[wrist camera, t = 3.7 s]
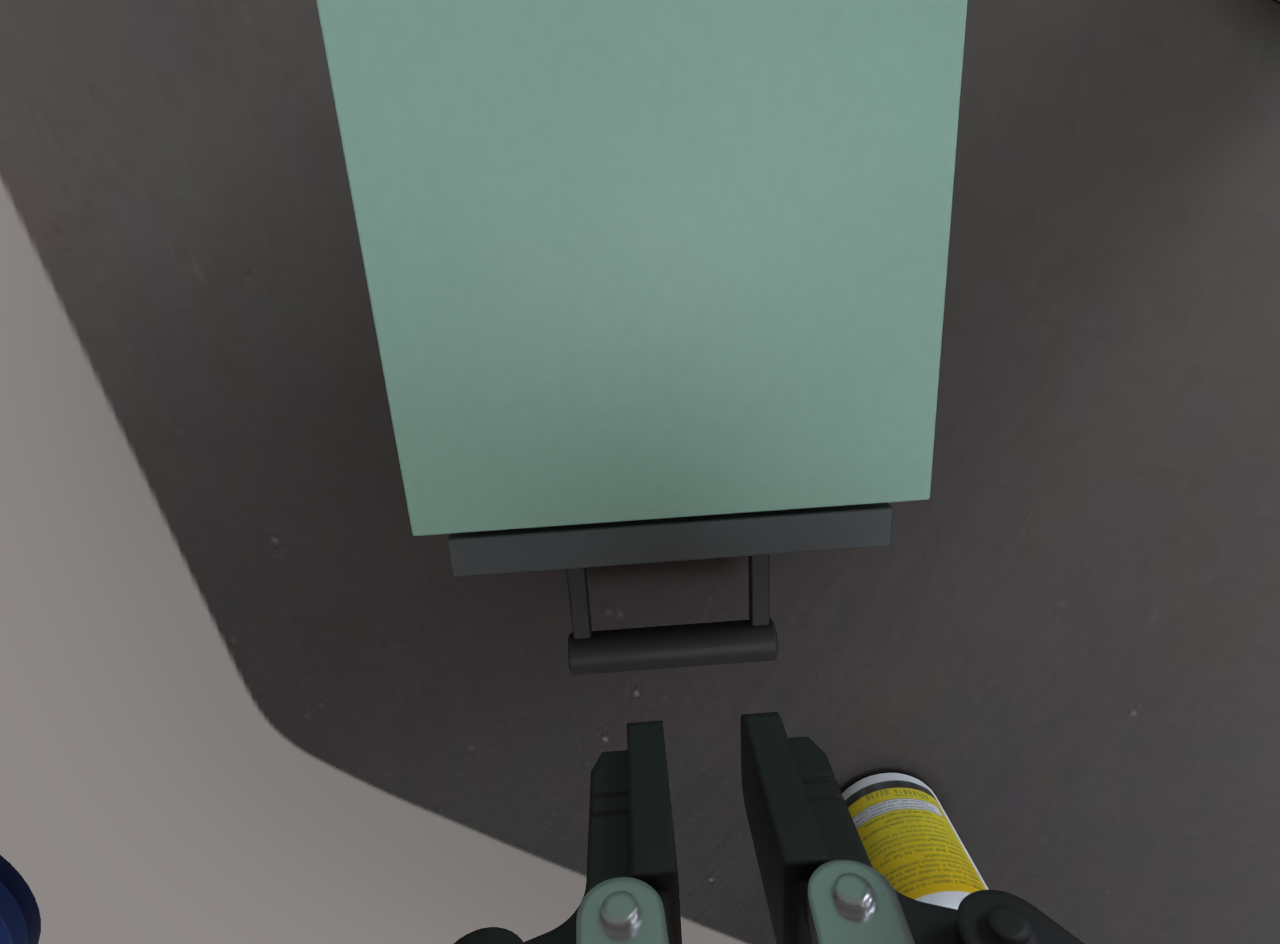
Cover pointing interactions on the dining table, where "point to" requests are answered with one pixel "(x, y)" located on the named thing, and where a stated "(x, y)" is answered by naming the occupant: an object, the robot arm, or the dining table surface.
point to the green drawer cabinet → (652, 249)
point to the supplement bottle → (912, 839)
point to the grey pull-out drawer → (668, 544)
